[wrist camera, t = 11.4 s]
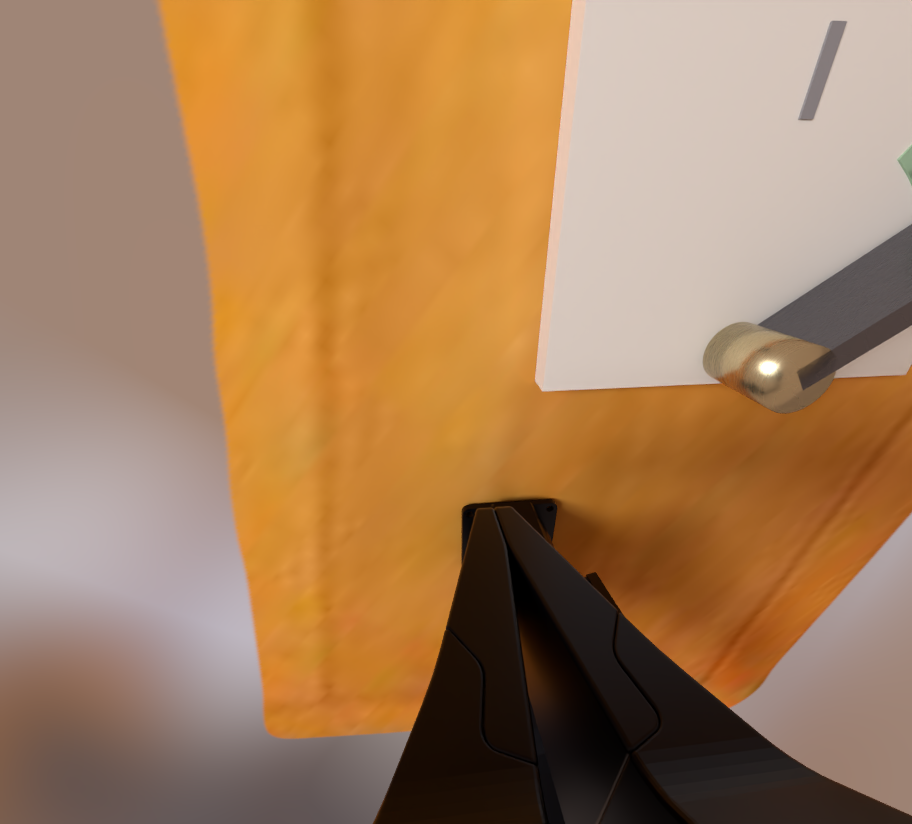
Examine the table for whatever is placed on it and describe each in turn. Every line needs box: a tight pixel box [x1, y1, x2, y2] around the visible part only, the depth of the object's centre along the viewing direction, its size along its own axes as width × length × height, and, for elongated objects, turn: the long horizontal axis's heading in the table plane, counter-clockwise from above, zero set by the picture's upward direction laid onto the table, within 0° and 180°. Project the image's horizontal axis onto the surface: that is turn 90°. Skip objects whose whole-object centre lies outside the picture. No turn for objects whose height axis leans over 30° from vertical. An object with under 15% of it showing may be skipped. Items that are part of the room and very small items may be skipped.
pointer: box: [703, 224, 912, 413], centre depth 17 cm, size 16×3×4 cm, turn 127°
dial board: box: [535, 0, 912, 391], centre depth 18 cm, size 20×22×2 cm
